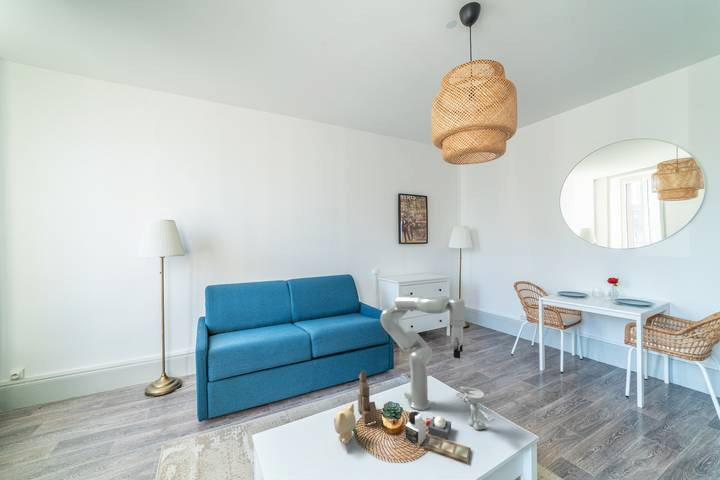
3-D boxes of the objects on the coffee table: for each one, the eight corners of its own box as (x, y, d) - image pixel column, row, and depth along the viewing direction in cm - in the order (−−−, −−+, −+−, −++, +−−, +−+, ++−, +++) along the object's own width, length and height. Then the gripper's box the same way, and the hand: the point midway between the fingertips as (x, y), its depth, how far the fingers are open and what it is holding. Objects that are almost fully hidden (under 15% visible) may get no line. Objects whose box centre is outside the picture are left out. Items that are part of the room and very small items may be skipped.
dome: (433, 428, 137) (433, 418, 137) (435, 422, 142) (435, 412, 142) (444, 432, 134) (444, 421, 134) (446, 425, 139) (446, 415, 139)
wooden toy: (377, 423, 145) (376, 375, 145) (364, 426, 143) (364, 377, 143) (368, 407, 160) (368, 363, 160) (357, 409, 158) (356, 364, 158)
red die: (426, 426, 142) (426, 421, 142) (426, 423, 144) (426, 417, 144) (432, 427, 141) (431, 421, 141) (432, 424, 144) (431, 418, 144)
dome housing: (428, 434, 136) (428, 426, 136) (433, 423, 144) (433, 416, 144) (447, 440, 132) (447, 432, 132) (451, 428, 140) (451, 421, 140)
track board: (425, 449, 126) (425, 446, 126) (430, 437, 134) (430, 434, 134) (467, 464, 117) (467, 461, 117) (470, 450, 125) (470, 447, 125)
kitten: (347, 426, 143) (346, 396, 143) (363, 433, 137) (362, 403, 138) (327, 443, 131) (327, 411, 131) (344, 452, 125) (343, 418, 125)
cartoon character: (501, 440, 131) (500, 399, 131) (482, 446, 127) (481, 403, 127) (465, 410, 155) (465, 375, 155) (448, 415, 151) (447, 378, 151)
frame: (400, 442, 131) (400, 441, 131) (408, 428, 140) (408, 428, 140) (423, 450, 125) (423, 449, 125) (430, 435, 135) (430, 435, 135)
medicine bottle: (405, 439, 133) (404, 414, 133) (413, 432, 138) (412, 407, 138) (418, 447, 128) (417, 420, 128) (426, 438, 133) (425, 413, 133)
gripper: (452, 317, 158) (453, 347, 158) (447, 325, 142) (448, 359, 142) (466, 319, 154) (467, 350, 154) (463, 327, 139) (463, 362, 139)
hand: (458, 354), depth 148 cm, fingers open, 9 cm apart
